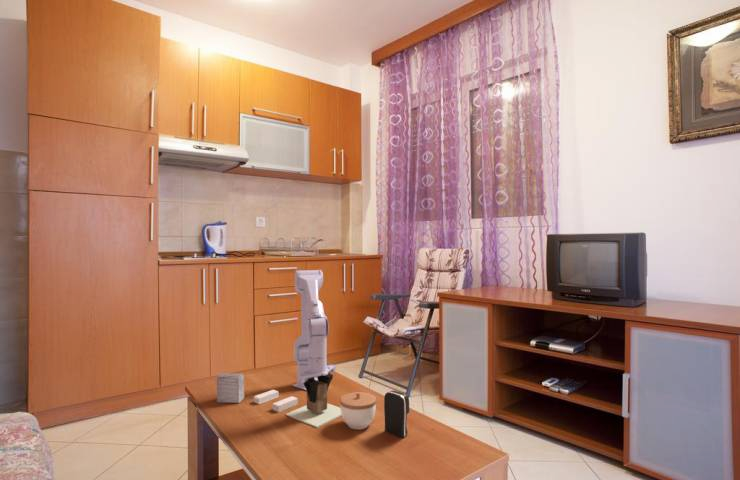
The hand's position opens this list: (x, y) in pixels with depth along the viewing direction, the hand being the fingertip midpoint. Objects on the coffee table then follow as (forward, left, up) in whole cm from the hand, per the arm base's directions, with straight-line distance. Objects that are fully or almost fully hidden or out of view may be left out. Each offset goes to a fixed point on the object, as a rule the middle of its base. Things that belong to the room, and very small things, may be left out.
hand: (317, 399), depth 128 cm
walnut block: (0, 0, -3) cm, 3 cm away
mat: (0, 0, -4) cm, 4 cm away
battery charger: (-5, +27, -5) cm, 28 cm away
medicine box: (+11, -31, -5) cm, 33 cm away
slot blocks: (+3, -17, -4) cm, 18 cm away
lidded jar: (-2, +15, -5) cm, 16 cm away
